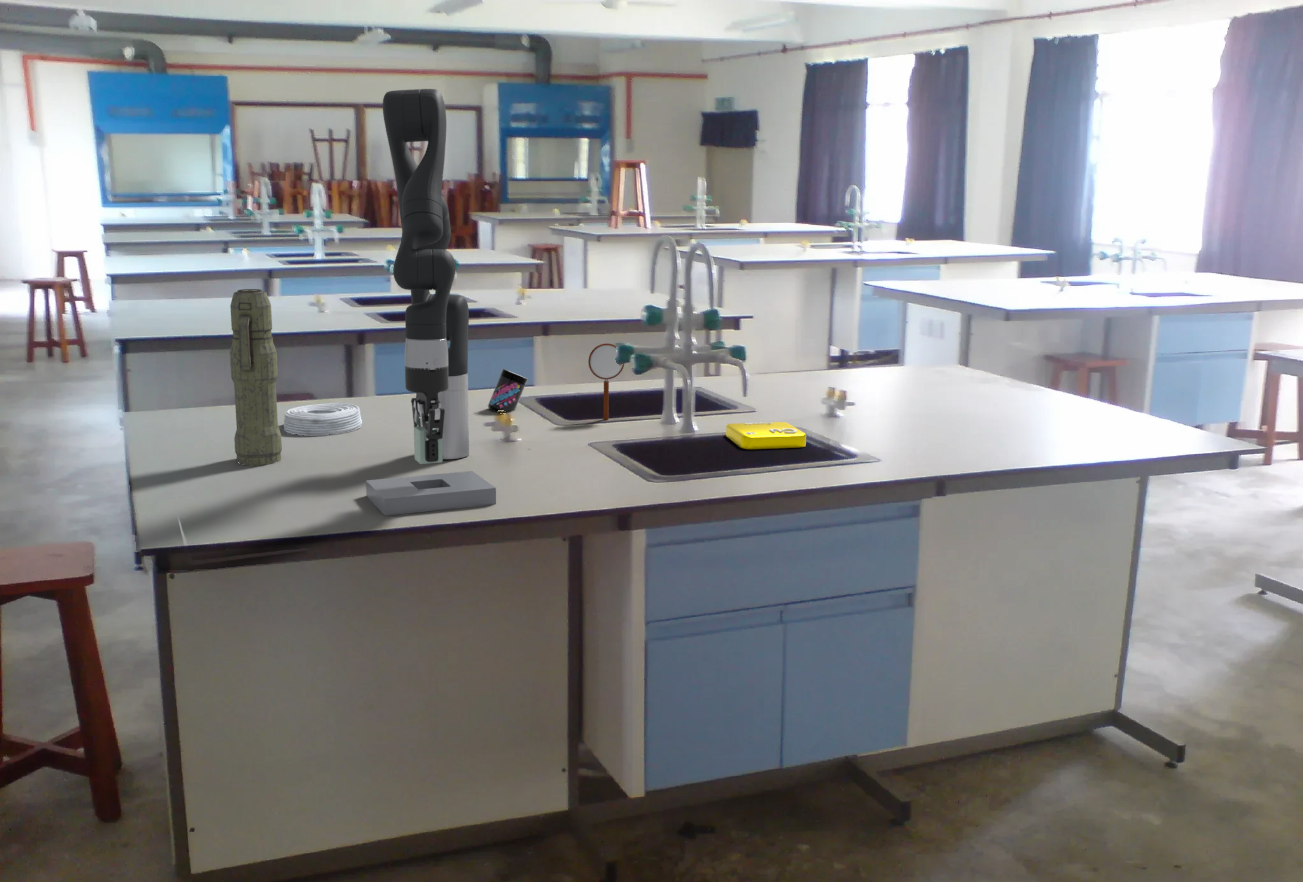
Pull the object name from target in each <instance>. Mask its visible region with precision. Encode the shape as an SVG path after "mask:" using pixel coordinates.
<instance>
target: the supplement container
mask: <svg viewBox="0 0 1303 882" xmlns="http://www.w3.org/2000/svg"><path fill="white" fill-rule="evenodd" d="M528 380H529V379H528V378H527V377H524V376H522V375H520V374H517V373H515V372H512V371H510V370H508V369H505V368H502V370H501V372H500V375H499V378H498V380H497V382H496V385H495V387H494V390H493V392H492V395H491V396H490V399H489V401H488V404H487V408H488V409H489V410H491V411H493V412H496V413H498V412H497V411H498V410H504V411H506V412H505V413H508V412H509V413H510V412H514V411H515V410H516V408H517V406H518V404H519V401H520V399H521V397H522V396H523V395H522V394H523V392H524V391H525V387H526V385H527V382H528Z"/></svg>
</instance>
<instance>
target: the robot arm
mask: <svg viewBox="0 0 1303 882" xmlns="http://www.w3.org/2000/svg"><path fill="white" fill-rule="evenodd" d="M443 97H444V96H443V95H442V93H441V92H440V91H439V90H438V89H436V88H417V89H415V88H414V89H399V90H388V91H387V92H385V94H384V96H383V99H382V114H383V115H382V116H383V121H384V128H385V133H386V136H387V137H386V138H387V142H388V146H389V151H390V156H391V160H392V166H393V170H394V176H395V183H396V193H397V200H398V201H397V203H398V210H399V211H398V212H399V218H400V224H401V225H400V226H401V236H400V237H401V238H400V242H399V247H398V249H397V253H396V257H395V259H394V263H393V267H392V268H393V270H392V271H393V272H392V273H393V279H394V281H395V282H396V284H397V286H398V287H400V288H401V289H403V290H408V291H410V297H411V299H410V300H411V304H410V305H408V306H407V307H406V309H405V314H404V315H405V317H404V318H405V319H404V321H405V343H404V375H405V376H404V379H405V382H404V383H405V386H404V387H405V389H406V391H407V392H411V393H416V395H415V397H411V400H410V403H411V411H412V420H413V428H414V427H417V426H419V427H422V428H423V429H424V439H425V460H426V461H427V462H436V461H438V440H440V439H442V460H455V459H457V460H458V459H462V458H465V457H466V458H467V457H469V455H470V437H469V436H470V430H469V429H470V428H469V427H470V426H469V425H470V423H469V421H470V419H469V416H470V415H469V376H468V375H469V372H468V368H469V367H468V365H469V363H468V361H469V327H470V325H469V324H470V323H469V321H470V318H469V317H470V312H469V305H468V302H467V299H466V297H465V296H463V295H458V294H450V293H451V290H452V288H453V287H452V286H453V284H454V280H455V275H456V271H457V269H456V268H457V266H456V264H457V263H456V261H455V257H454V256H453V254H452V253H451V252H450V251H448V246H449V245H450V241H451V238H452V232H451V231H452V230H451V228H452V227H451V222H450V213H449V206H448V203H447V201H446V199H445V197H444V196H443V195H442V194H443V192H442V191H443V178H444V177H443V176H444V167H445V159H446V158H445V156H446V142H447V141H446V140H447V112H446V111H447V110H446V105H445V100H444V98H443ZM414 142H415V143H417V142H427V146H426V150H425V152H424V155H423V157H422V158H421V160H420V162H419V163H418V164H417V162H416V160H415V159H414V157H413V154H412V153H411V151H410V148H409V144H408V143H414ZM432 290H433V291H435V292H434V293H433V294H431V292H430V291H432ZM447 341H449V342H450V343H449V346H448V343H447ZM433 428H435V432H432V429H433Z"/></svg>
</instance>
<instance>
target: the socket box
mask: <svg viewBox="0 0 1303 882" xmlns="http://www.w3.org/2000/svg"><path fill="white" fill-rule="evenodd" d="M365 489H366V490H365V491H366V493H365V494H366V497H367V498H368V499H369V501H370V502H371V503H372V504H373V505H374V506H375V507H376V508H377V509H378V510H379V512H381V513H382V515H383V516H394V515H396V516H397V515H406V514H413V513H415V514H416V513H423V512H424V513H425V512H434V511H444V510H454V509H462V508H472V507H479V506H490V505H489V504H492V505H496V504H497V487H495V485H493V484H491V483H490V482H488V481H487V480H486V479H484V478H483V477H481V476H480V475H479V474H477V473H476V472H474V471H473V470H469V471H458V472H455V471H454V472H445V473H444V472H443V473H435V474H425V475H424V474H423V475H413V476H412V475H411V476H402V477H401V476H400V477H391V478H389V477H388V478H381V479H380V478H378V479H370V480H369V479H367V480H365Z"/></svg>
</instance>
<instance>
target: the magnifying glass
mask: <svg viewBox="0 0 1303 882" xmlns="http://www.w3.org/2000/svg"><path fill="white" fill-rule="evenodd" d="M616 347H618V346H617V345H615V344H614V343H610V342H609V343H607V342H605V343H601V344H599V345H596V346H595V347H594V348H593V349H592V350H591V352H590V353H589V356H588V368H589V370H590V372H591V373H592V375H594V376H595V377H596V378H598V379H601V380H603V421H609V411H610V410H609V408H610V407H609V405H610V404H609V400H610V398H609V397H610V394H609V393H610V390H609V389H610V388H609V387H610V386H609V385H610V382H609V380H611V379H614V378H616V377H618V376H619V375H620V374H621V372H622V371H623V369H624V367H625V363H624V364H623V365H621V366H619V365H618V364H617V363H616V360H615V358H616Z"/></svg>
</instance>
